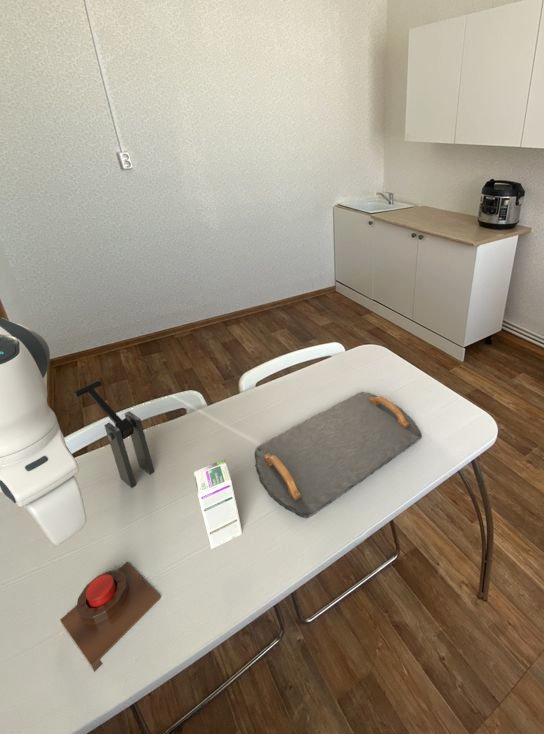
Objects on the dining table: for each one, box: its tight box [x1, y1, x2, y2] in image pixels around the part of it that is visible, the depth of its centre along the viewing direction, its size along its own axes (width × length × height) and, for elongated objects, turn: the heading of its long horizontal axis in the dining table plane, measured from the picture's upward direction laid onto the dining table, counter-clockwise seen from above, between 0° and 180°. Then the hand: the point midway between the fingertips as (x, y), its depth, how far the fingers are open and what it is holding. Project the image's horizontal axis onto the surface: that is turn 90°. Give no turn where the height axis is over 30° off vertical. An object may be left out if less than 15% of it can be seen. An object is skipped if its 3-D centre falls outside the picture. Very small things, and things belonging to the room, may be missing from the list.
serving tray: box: [254, 391, 423, 519], centre depth 90 cm, size 39×23×6 cm, turn 129°
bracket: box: [103, 410, 155, 489], centre depth 81 cm, size 10×8×16 cm
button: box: [86, 575, 116, 607], centre depth 60 cm, size 4×4×2 cm
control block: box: [59, 561, 161, 673], centre depth 59 cm, size 10×10×4 cm
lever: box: [73, 379, 134, 440], centre depth 81 cm, size 16×5×2 cm, turn 57°
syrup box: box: [193, 459, 243, 550], centre depth 70 cm, size 6×6×14 cm
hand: (51, 524), depth 56 cm, fingers closed
